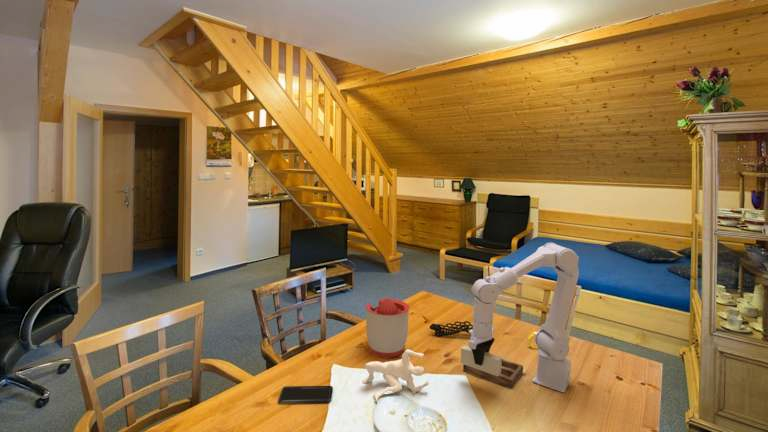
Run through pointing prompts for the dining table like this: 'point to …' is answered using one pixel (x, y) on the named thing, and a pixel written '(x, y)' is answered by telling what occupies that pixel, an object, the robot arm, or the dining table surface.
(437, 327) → the decorative element
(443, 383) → the dining table surface
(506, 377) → the rack
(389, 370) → the person figurine
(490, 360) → the clay strip
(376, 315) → the citrus juicer
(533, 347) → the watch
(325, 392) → the phone
